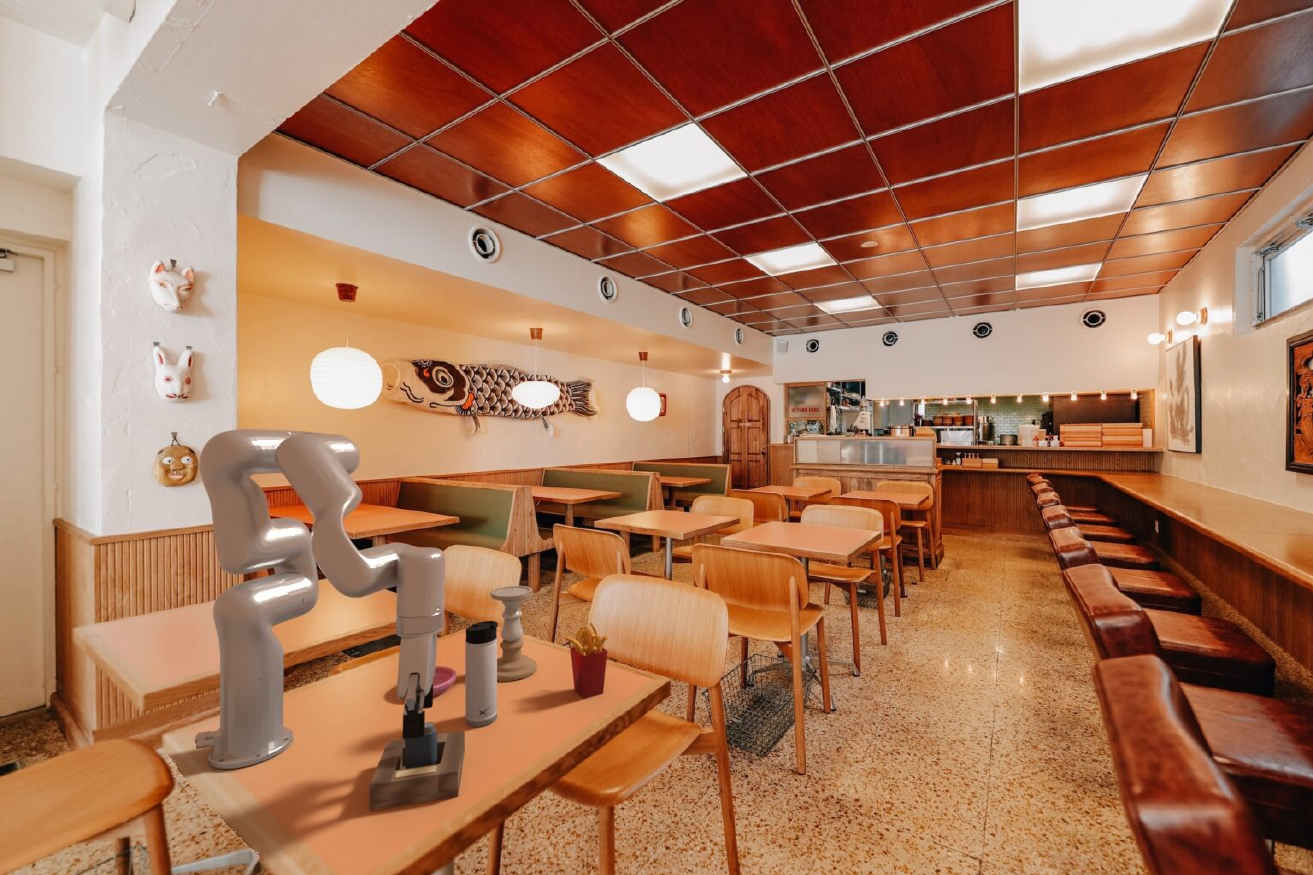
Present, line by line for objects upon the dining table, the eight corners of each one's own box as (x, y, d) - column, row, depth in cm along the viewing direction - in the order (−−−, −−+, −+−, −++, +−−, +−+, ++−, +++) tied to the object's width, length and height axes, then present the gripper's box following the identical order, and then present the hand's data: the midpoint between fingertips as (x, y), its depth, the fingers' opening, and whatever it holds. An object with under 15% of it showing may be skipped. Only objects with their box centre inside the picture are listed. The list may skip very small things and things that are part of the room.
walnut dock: (369, 810, 84) (369, 783, 84) (387, 763, 96) (388, 739, 96) (458, 796, 87) (458, 770, 87) (464, 751, 100) (464, 729, 100)
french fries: (609, 693, 123) (608, 627, 123) (576, 703, 118) (576, 635, 118) (590, 679, 130) (590, 617, 130) (559, 688, 125) (559, 624, 125)
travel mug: (489, 728, 108) (489, 628, 108) (459, 725, 109) (459, 626, 109) (504, 713, 114) (503, 618, 114) (475, 710, 115) (475, 617, 115)
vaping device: (408, 768, 93) (408, 699, 93) (439, 767, 93) (438, 698, 93) (401, 777, 90) (401, 706, 90) (433, 776, 91) (433, 705, 91)
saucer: (462, 693, 124) (462, 679, 124) (403, 708, 117) (403, 693, 117) (449, 674, 134) (449, 661, 134) (394, 687, 127) (394, 673, 127)
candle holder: (522, 657, 144) (521, 581, 144) (546, 671, 135) (546, 591, 135) (477, 670, 135) (477, 590, 136) (500, 686, 126) (500, 600, 127)
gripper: (406, 607, 99) (404, 700, 99) (385, 641, 83) (382, 753, 83) (449, 605, 101) (447, 696, 101) (437, 637, 85) (435, 746, 84)
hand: (418, 721), depth 92 cm, fingers open, 9 cm apart
